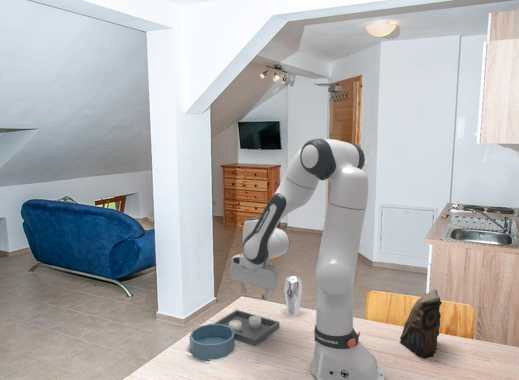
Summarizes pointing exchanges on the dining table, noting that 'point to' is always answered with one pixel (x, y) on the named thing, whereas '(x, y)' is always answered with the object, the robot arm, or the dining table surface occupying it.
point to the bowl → (212, 341)
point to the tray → (249, 334)
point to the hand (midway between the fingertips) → (254, 295)
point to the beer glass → (293, 295)
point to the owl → (423, 326)
